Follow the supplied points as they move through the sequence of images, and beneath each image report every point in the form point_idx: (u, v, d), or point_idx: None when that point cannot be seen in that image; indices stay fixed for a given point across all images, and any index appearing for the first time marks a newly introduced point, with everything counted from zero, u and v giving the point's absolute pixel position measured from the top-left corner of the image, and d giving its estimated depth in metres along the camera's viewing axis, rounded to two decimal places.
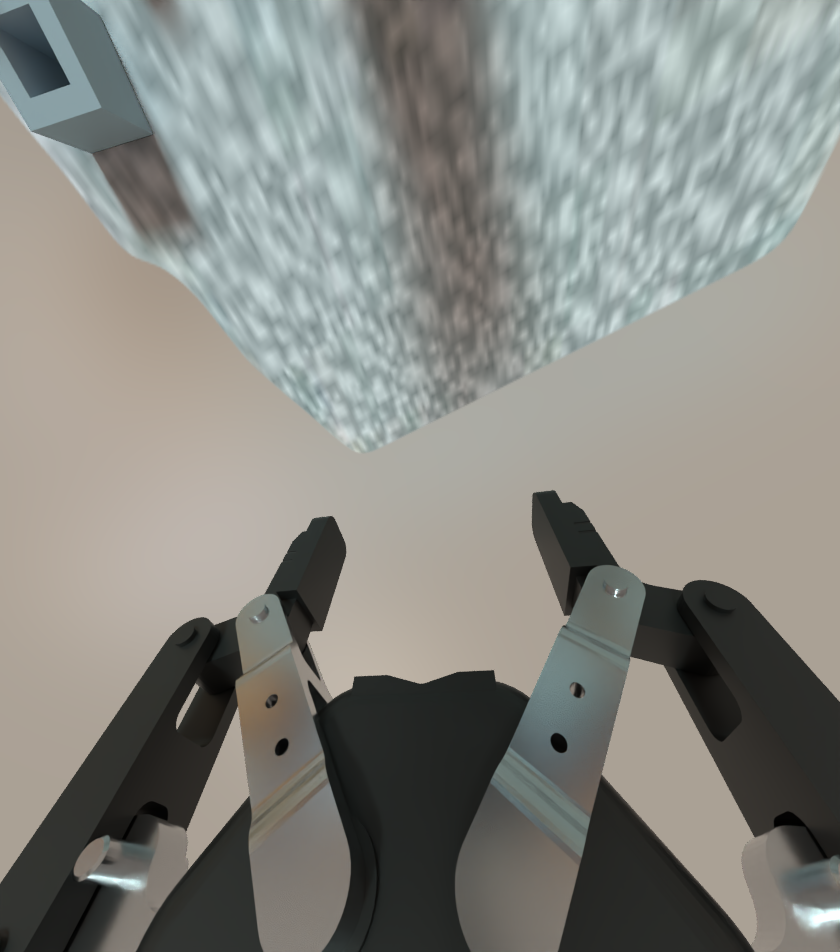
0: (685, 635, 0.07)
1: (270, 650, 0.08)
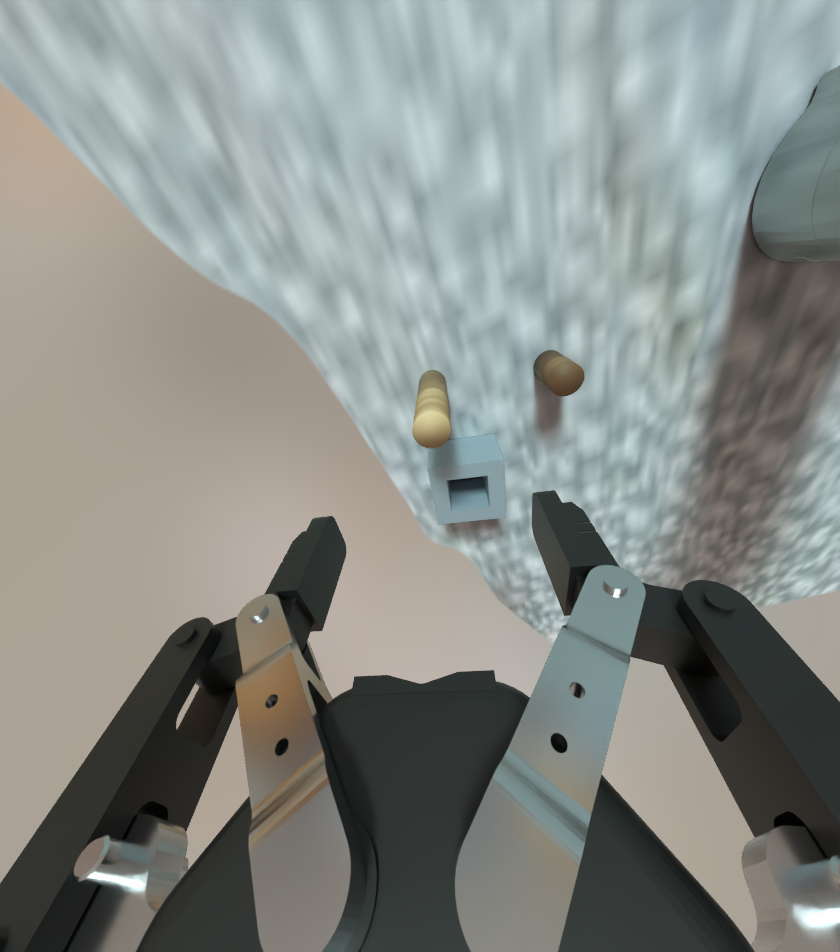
0: (685, 635, 0.07)
1: (270, 650, 0.08)
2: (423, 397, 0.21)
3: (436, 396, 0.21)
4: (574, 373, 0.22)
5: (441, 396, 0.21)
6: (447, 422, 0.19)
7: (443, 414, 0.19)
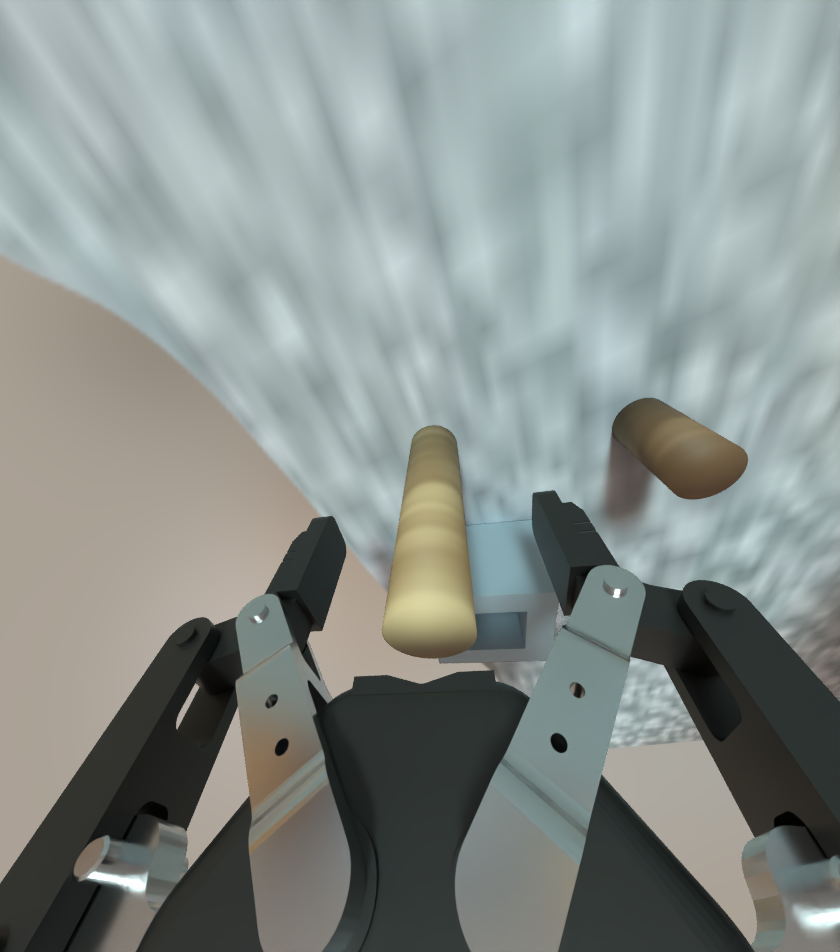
0: (685, 635, 0.07)
1: (270, 650, 0.08)
2: (413, 516, 0.10)
3: (442, 517, 0.10)
4: (727, 462, 0.11)
5: (452, 511, 0.10)
6: (469, 623, 0.07)
7: (460, 599, 0.07)
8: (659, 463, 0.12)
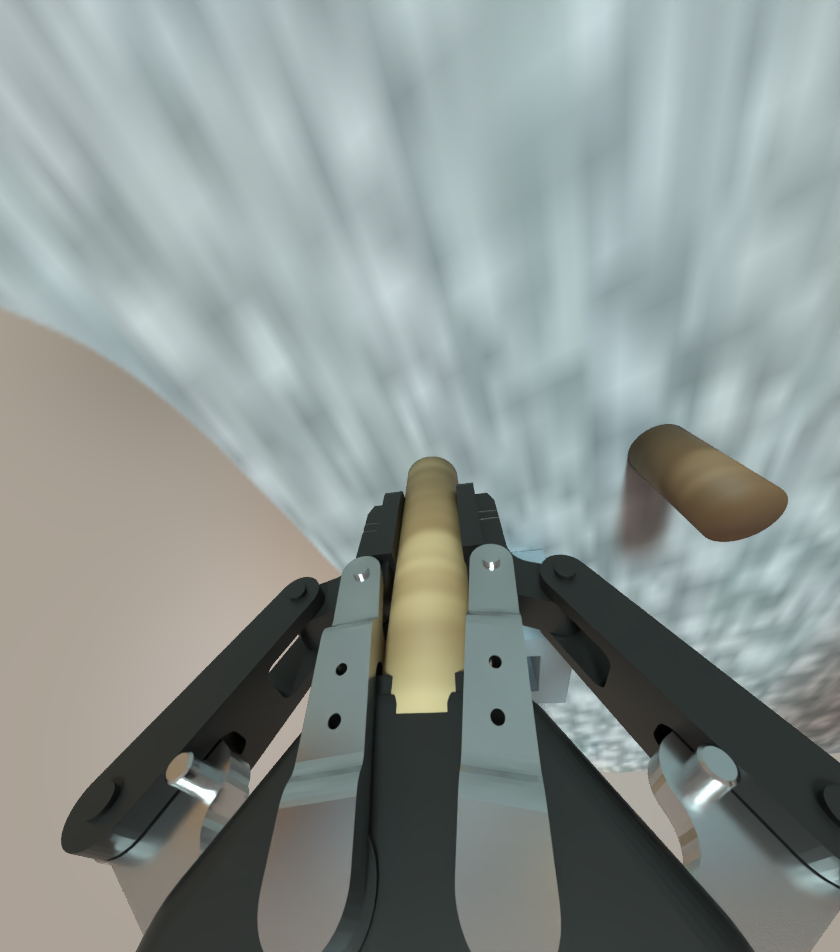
0: (539, 599, 0.08)
1: (358, 614, 0.08)
2: (410, 575, 0.09)
3: (442, 578, 0.09)
4: (764, 503, 0.10)
5: (453, 568, 0.09)
6: None
7: None
8: (685, 502, 0.11)
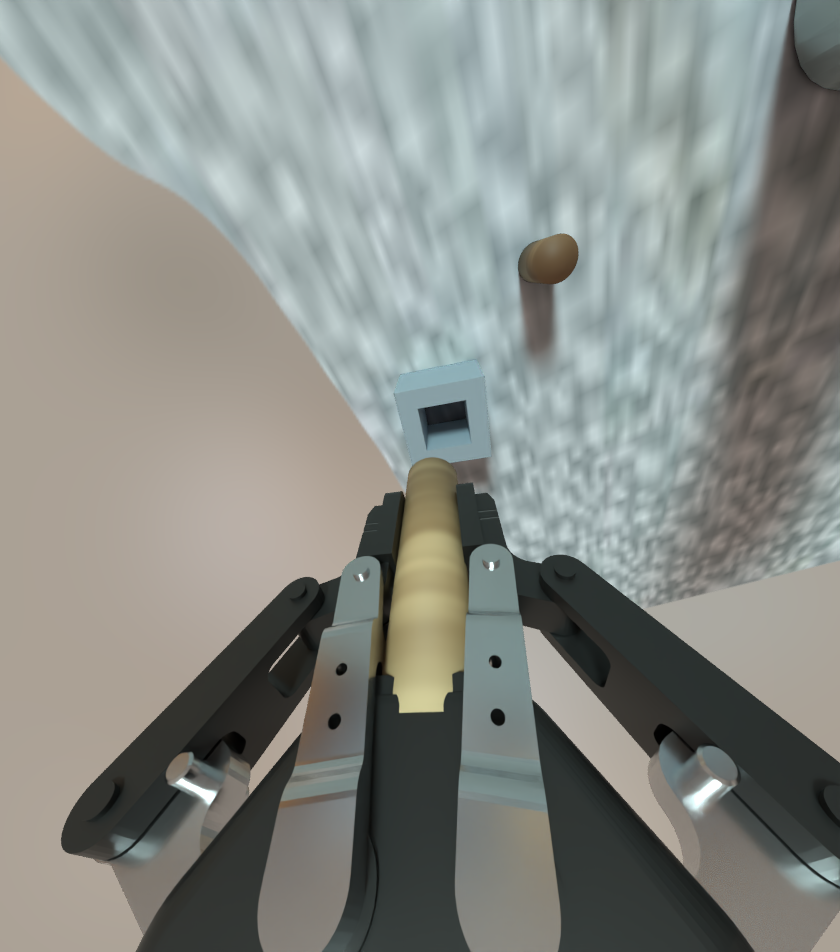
0: (539, 599, 0.08)
1: (358, 614, 0.08)
2: (410, 576, 0.09)
3: (442, 578, 0.09)
4: (565, 249, 0.17)
5: (453, 569, 0.09)
6: None
7: None
8: (532, 263, 0.19)
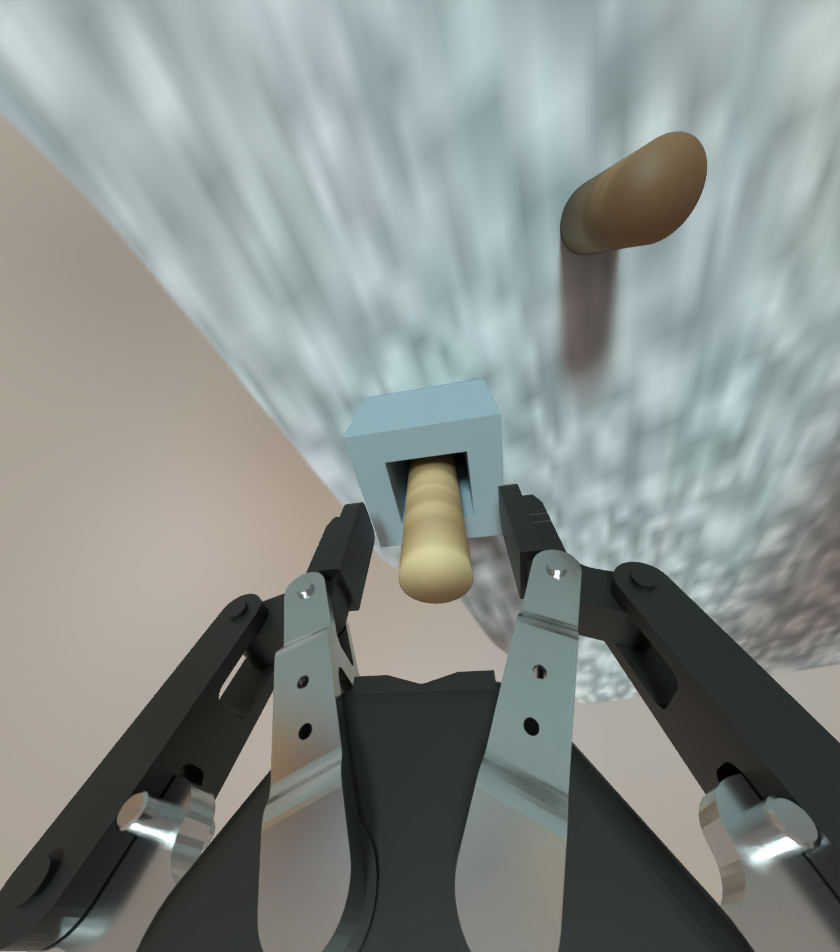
0: (614, 610, 0.07)
1: (310, 629, 0.08)
2: (418, 494, 0.12)
3: (441, 494, 0.12)
4: (681, 169, 0.08)
5: (449, 490, 0.12)
6: (466, 567, 0.10)
7: (459, 550, 0.10)
8: (602, 203, 0.09)
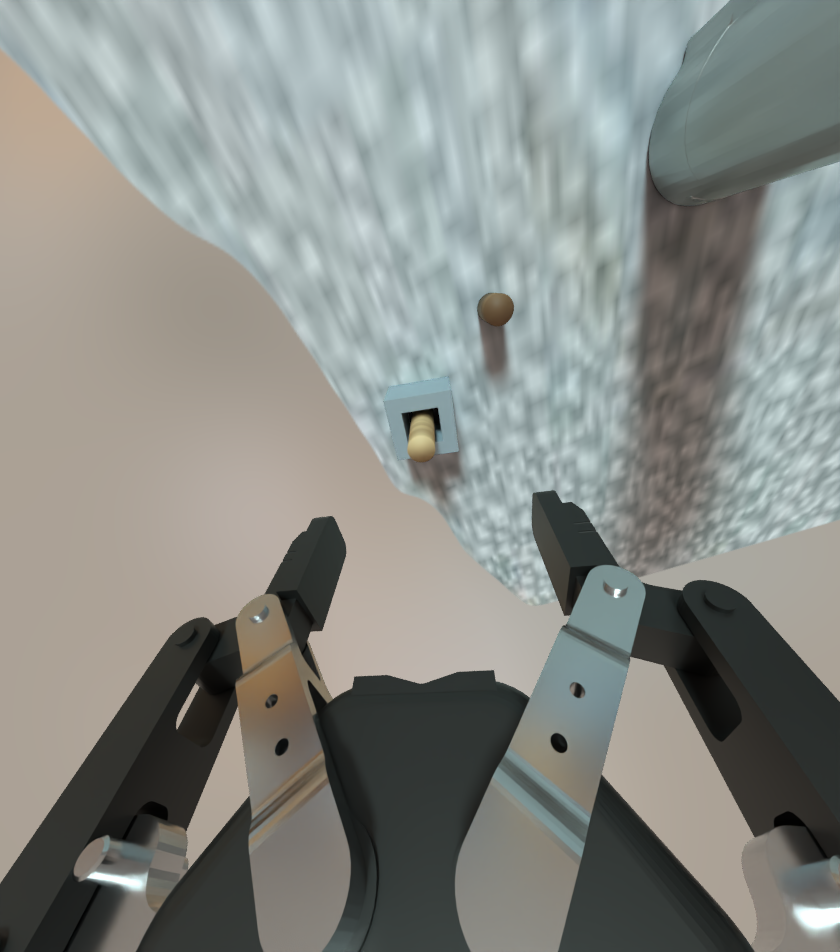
0: (685, 635, 0.07)
1: (270, 650, 0.08)
2: (415, 424, 0.28)
3: (425, 423, 0.28)
4: (504, 303, 0.25)
5: (428, 423, 0.29)
6: (432, 443, 0.26)
7: (429, 437, 0.26)
8: (483, 311, 0.26)
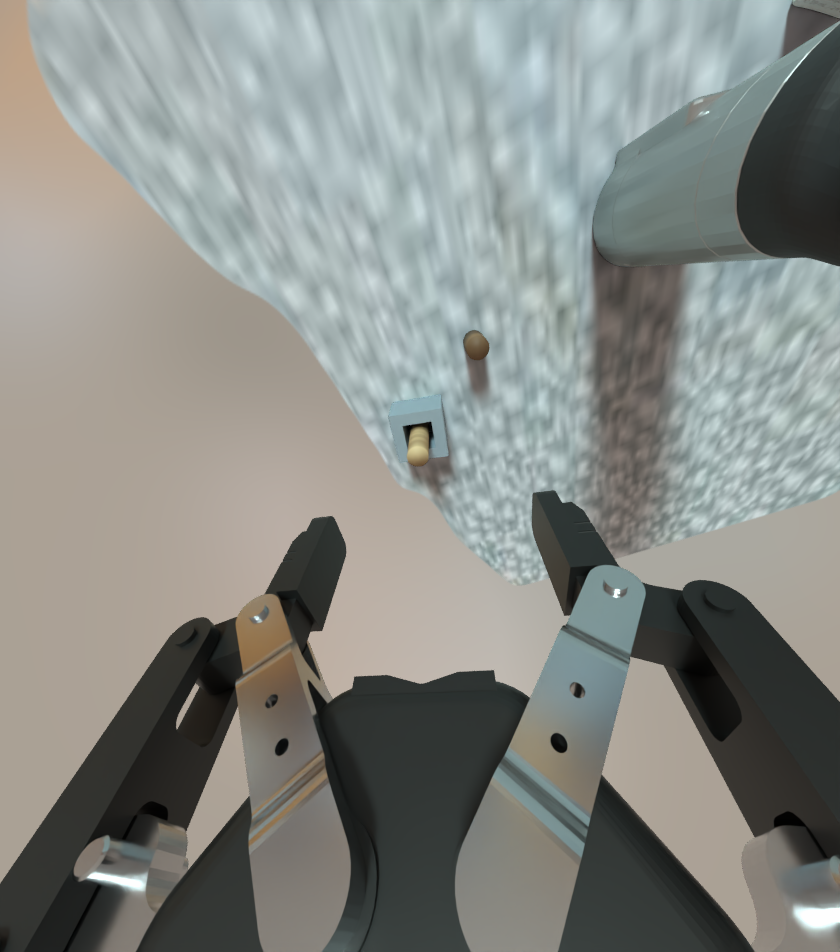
0: (685, 635, 0.07)
1: (270, 650, 0.08)
2: (413, 435, 0.36)
3: (421, 435, 0.36)
4: (482, 343, 0.32)
5: (424, 434, 0.36)
6: (426, 452, 0.33)
7: (424, 447, 0.34)
8: (466, 348, 0.33)
